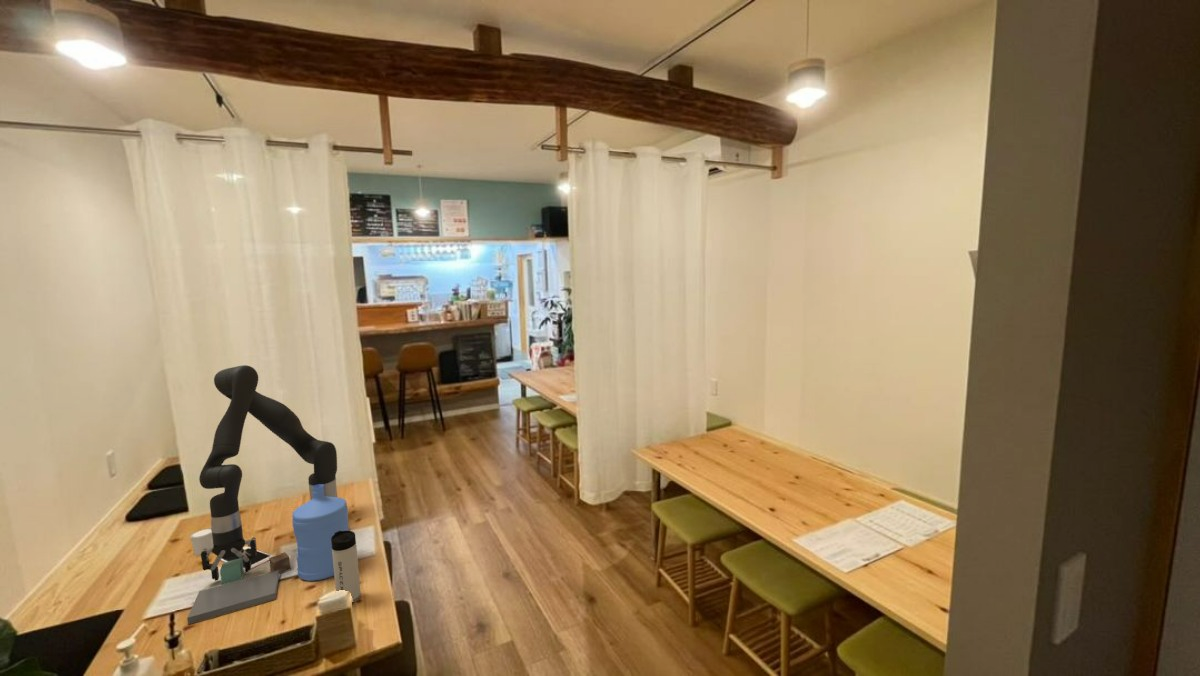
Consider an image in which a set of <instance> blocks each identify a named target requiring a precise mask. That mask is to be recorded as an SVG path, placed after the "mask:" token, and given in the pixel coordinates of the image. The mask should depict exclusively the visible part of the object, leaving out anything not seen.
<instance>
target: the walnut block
mask: <svg viewBox="0 0 1200 676" xmlns="http://www.w3.org/2000/svg"><path fill="white" fill-rule="evenodd" d="M272 556H273V557H271V558H269V561H268V562H269V568H270V572H274V571H277V570H279V575H280V574H283V573H285V572H288V571H290V570H291V558H290V556H289V555H288V553H287V552H281V553H279V554H276V555H272Z"/></svg>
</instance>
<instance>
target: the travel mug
mask: <svg viewBox="0 0 1200 676" xmlns="http://www.w3.org/2000/svg"><path fill="white" fill-rule="evenodd" d="M331 543H332V556H333V567H334V585H335V592H336V591H339V590H345V591H349V592H350V593H351V596H352V598H353V601H354V603H356V602H357V601H359V600H360V598H361V596H362V594H361V583H360V573H359V560H358V551H357V550H358V549H357V541H356V533H355V532H354V531H352V530H350V531H341V530H340V531H338V532H335V533H334V535H333V536H332V538H331Z"/></svg>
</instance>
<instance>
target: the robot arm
mask: <svg viewBox="0 0 1200 676" xmlns="http://www.w3.org/2000/svg"><path fill="white" fill-rule="evenodd" d="M258 383H259V374H258V372H257V370H256V369H255V368H254V367H252V366H250V365H237V366H234V367H228V368H224V369H222V370H220V371H218V372H217V373H216V374H215V375H214V378H213V384H214V386H215V388H216V390H217V391H218V392H219V393H220V394H222V395H223V396H225V397H226V398H228V399H229V400H230V402H229V405H228V407H227V410H225V413H224V415H223V417H222V418H221V419H220V422H219V423H218V425H217V427H216V430H215V433H214V436H213V441H212V442H213V443H212V446H211V451H210V454H209V455H208V458H207V459H206V462H205V464H204V465H203V467H202V469H201V471H200V474H199V483H200V486H201V488H203V489H206V490H212V489H213V490H215V489H224V492H221V493H219V494H216V495H214V496H212V497H211V498H210V500H209V509H210V517H211V519H210V528H211V530H212V538H213V548H211V549H203V551H202V553H201V555H200V558H201V565H202V570H203V571H208V570H209V571H211V572H210V573H211V579H212V580H214V581H215V582H216V581H219V578H220V570H219V567H218V564H219V563H220V562H221V561H220V560H221V559H227V558H229V557H236V556H238V557H239V558H242V559H243V560H244V561H245V562H244V564H245V571H244V573H245V574H247V573H249V572H250V571H251V570H250V569H251V559H252V558H255V557H256V554H257V550H258V549H257V548H258V547H257V538H256V537H254V536H253V537H251V539H244V534H243V533H244V531H243V524H242V523H243V522H242V516H241V511H240V506H239V492H240V486H241V482H242V478H243V471H242V468H241V467H240V466H239V465H237V464H232V463H230V464H224V462H225V461H226V460H228V459H231V458H233V457H236V456H237V455H239V452H240V450H241V449H240V448H241V444H242V441H241V440H242V436H243V431H244V425H245V422H246V419H247V416H248V413H249V414H250V416H251V415H252V416H253V418H255V419H256V420H258V422H259V423H261V424H262V425H263V426H264V427H265V428H267V429H268V430H269V431H271V432H272V433H273V434H274V435H275V436H277V437H278V438H279V439H280V440H282V441H283V442H284V443H287V445H289V446H290V447H291V448H292V449H293V450H294V451H295V452H296V453H297V455H298V456H299V457H300V458H301V459H302V460H303V461H304V462H306V463H308V464H311V465H313V473H311V474H310V475H309V476H308V478H307V479H308V488H309V501H310V500H312V499H313V498H314V496H313V488H312V487H313V486H315V485H318V484H323V485H324V486H323V489H324V495H325V496H327V497H338V498H339V496H338V488H337V479H336V478H337V477H336V475H337V473H338V454H337V453H338V452H337V449H336V446H335V444H334V443H332V442H330V441H325V440H319V439H317V438H315V437H314V436H312V435H311V434H310V433H309V432H307V431H306V429H304V427H303V425H302V421H301V420H300V418H299V417H298V416H297V414H296V413H295V412H294V411H292V409H290V408H289V407H288V406H287V405H285V404H284V403H282V402H280V401H278V400H276V399H274V398H271V397H268V396H266V395H263V394H262V393H260V392H258V391H256V390H257V387H258ZM246 545H247V547H250V548H251V554H248V553H247V552H246V551H245V550H244V549H243V547H245V546H246ZM211 553H213V554H214V555H215V556H216V558H215V559H214V561H213V562H212V563H210V559H209V557H210V556H211ZM249 570H250V571H249Z"/></svg>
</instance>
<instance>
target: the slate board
mask: <svg viewBox="0 0 1200 676" xmlns="http://www.w3.org/2000/svg"><path fill="white" fill-rule="evenodd" d="M279 580H280V574H279V570H277V571H274V572H271V571H270V572H266V573H262V574H258V575H256V576H251V577H249V578H248V577H247V578H244V579H243V578H242V580H239V581H235V582H231V583H227V584H223V585H222V584H221V585H218V586H214V587H210V588H206V589H202V590H199V592H198V593H197V595H196V598H195V600H194V602H193V604H192V606H191V609H190V611H189V614H188V615H187V618H186V619H187V625H192V624H195V623H199V622H202V621H206V620H209V619H213V618H217V617H220V616H222V615H225V614H226V615H227V614H230V613H234V612H237V611H240V610H243V609H247V608H250V607H253V606H257V605H260V604H265V603H268V602H271V601H274V600H276V597H277V591H278V586H279Z"/></svg>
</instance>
